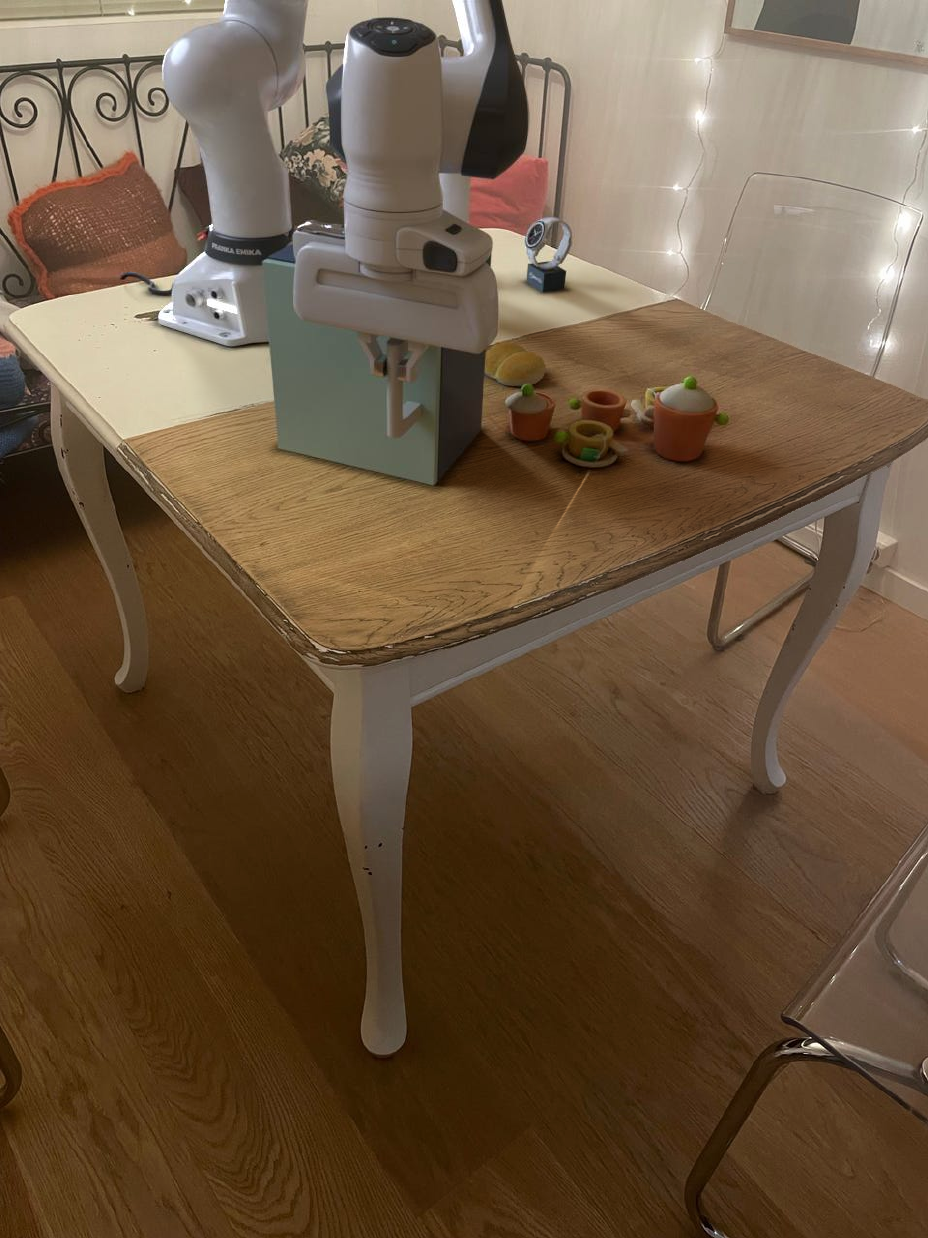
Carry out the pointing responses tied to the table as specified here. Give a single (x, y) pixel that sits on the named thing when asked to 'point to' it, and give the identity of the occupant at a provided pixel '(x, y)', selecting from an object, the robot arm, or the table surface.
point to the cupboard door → (348, 392)
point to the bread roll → (513, 365)
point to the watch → (549, 272)
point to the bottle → (456, 194)
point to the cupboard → (448, 393)
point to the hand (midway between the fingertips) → (394, 377)
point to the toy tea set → (670, 410)
